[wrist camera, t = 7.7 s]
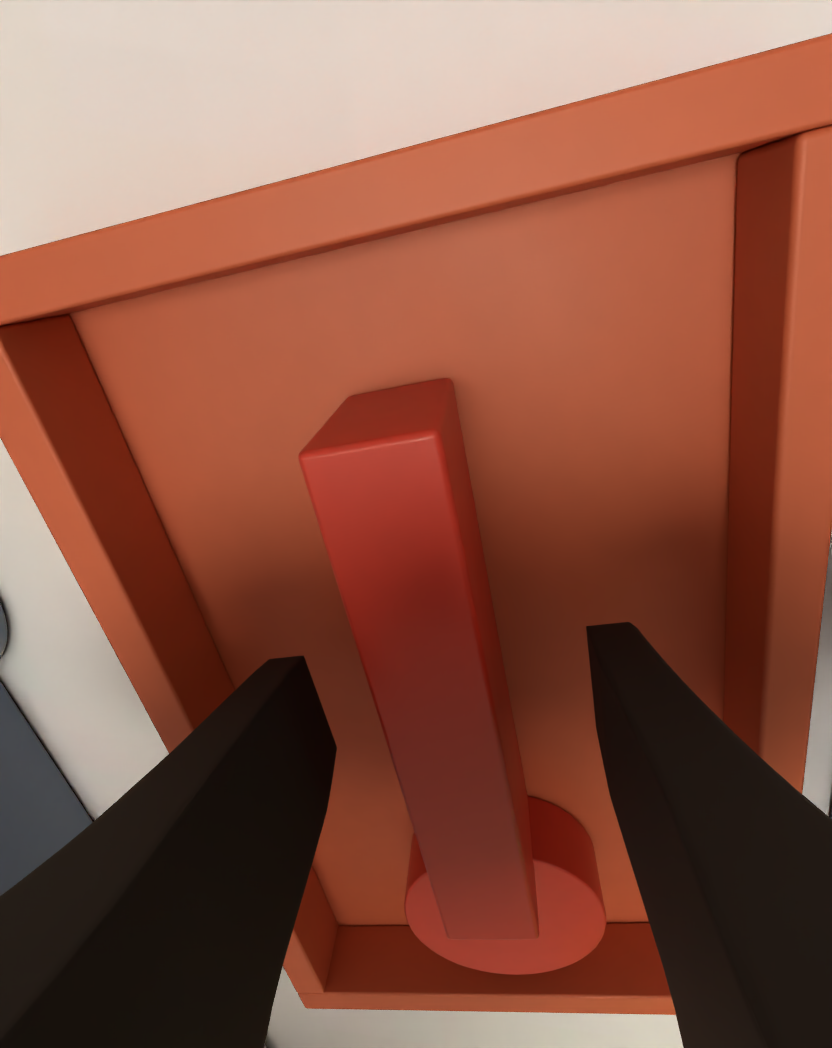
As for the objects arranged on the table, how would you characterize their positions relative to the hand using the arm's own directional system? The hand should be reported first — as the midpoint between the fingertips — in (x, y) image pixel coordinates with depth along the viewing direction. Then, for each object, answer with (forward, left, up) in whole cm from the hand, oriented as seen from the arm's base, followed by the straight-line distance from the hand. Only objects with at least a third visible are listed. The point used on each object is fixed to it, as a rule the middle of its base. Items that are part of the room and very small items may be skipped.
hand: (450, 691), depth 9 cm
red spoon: (-2, 0, -1) cm, 2 cm away
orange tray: (-1, 0, -2) cm, 2 cm away
